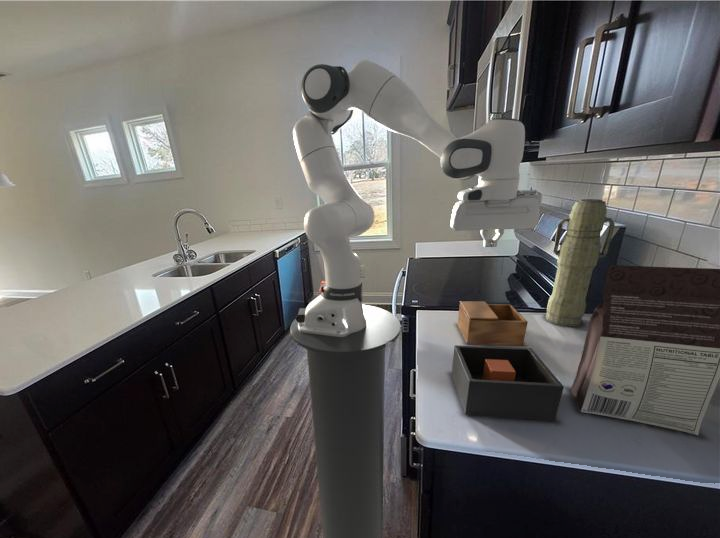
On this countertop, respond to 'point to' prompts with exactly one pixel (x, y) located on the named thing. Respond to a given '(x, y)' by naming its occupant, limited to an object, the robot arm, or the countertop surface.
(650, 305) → the protein powder
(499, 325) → the wooden box
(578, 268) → the thermos
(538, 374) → the basket
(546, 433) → the countertop surface
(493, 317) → the flap
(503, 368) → the block
